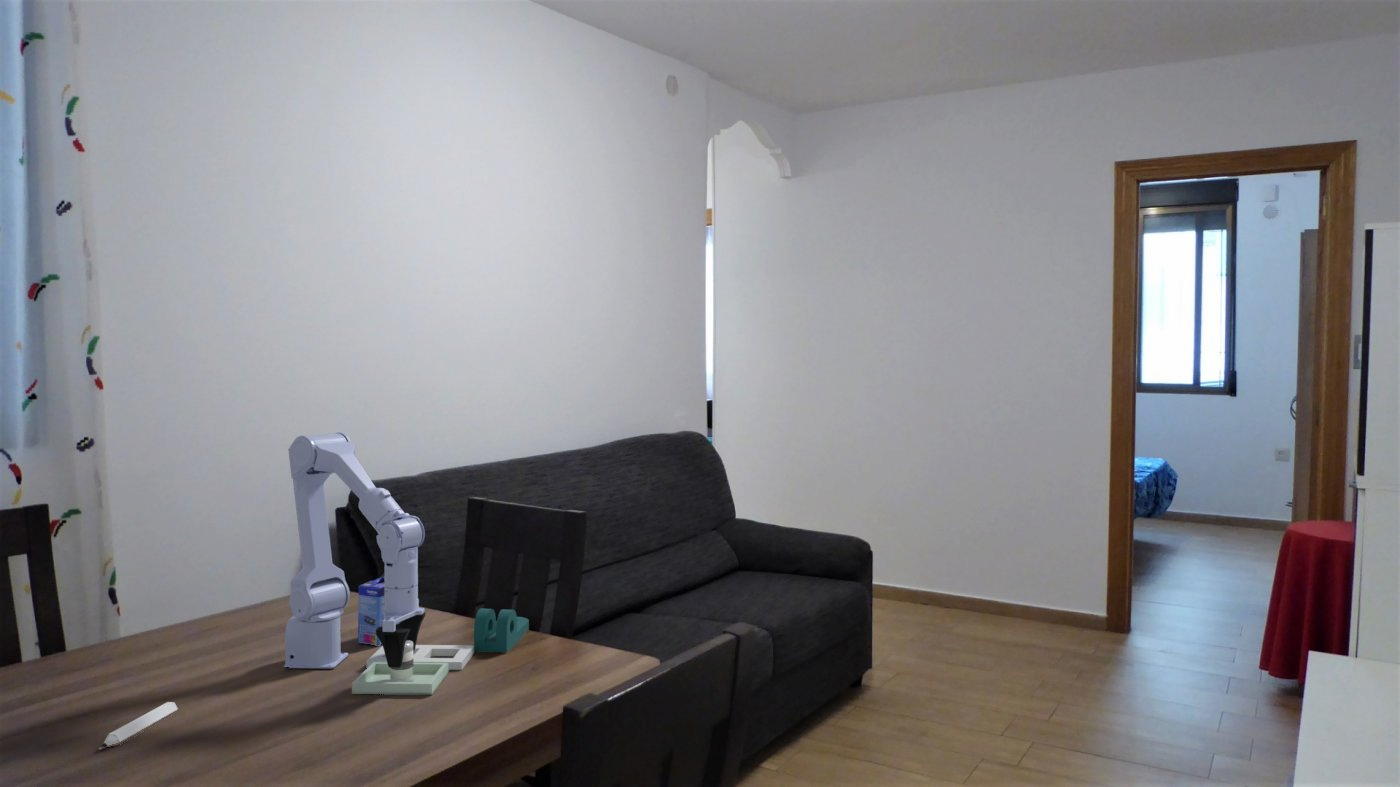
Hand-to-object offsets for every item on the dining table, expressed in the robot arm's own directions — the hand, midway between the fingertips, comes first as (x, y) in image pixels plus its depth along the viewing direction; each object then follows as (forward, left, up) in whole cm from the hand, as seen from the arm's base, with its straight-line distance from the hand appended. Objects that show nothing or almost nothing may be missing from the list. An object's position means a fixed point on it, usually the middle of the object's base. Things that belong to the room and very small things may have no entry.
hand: (401, 659), depth 171 cm
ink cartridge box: (-12, +26, -5) cm, 29 cm away
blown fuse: (0, 0, -4) cm, 4 cm away
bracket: (+13, +27, -5) cm, 30 cm away
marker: (-35, -22, -5) cm, 41 cm away
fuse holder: (0, +12, -4) cm, 13 cm away
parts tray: (0, 0, -4) cm, 4 cm away
